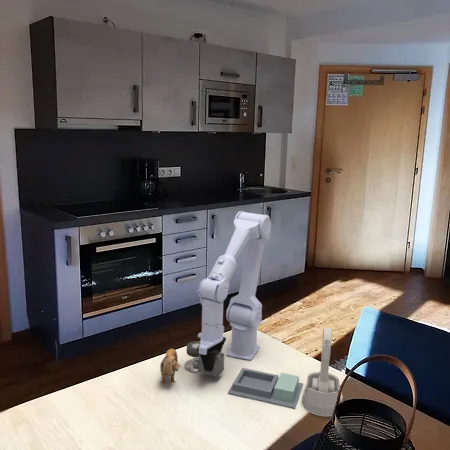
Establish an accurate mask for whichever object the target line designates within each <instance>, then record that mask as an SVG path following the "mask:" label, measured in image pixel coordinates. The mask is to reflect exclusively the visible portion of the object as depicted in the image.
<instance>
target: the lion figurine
mask: <svg viewBox="0 0 450 450" xmlns="http://www.w3.org/2000/svg"><path fill="white" fill-rule="evenodd" d="M178 361H179V360H178V353H177V351H176V349H174V348H170V349H168V350H167V351H166V353H165V356H164V357H163V359H162V361H161V362H160V374H161V379H162V380H161V382H160V384H161V385H166V381H167V379H166V377H170V379H169V381H170V383H171V384H175V383H176V380H175V373H177V372H178V371H179V369H180V368H181V364H180V363H178Z"/></svg>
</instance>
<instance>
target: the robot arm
mask: <svg viewBox="0 0 450 450" xmlns="http://www.w3.org/2000/svg"><path fill="white" fill-rule="evenodd" d="M232 223H233V227H232V228H233V233H232V236H231V238H230V240H229V243H228V245H227V248H226V249H225V251H224V253H223V255H219V257H218V258H217V260H215V263H214V265H213V267H212V269H211V271H210V273H209V274H208V276H207V277H206V278H204V279H202V280H201V281H200V282H199V285H198V290H197V295H198V297H199V303H200V305H201V308H202V309H201V332H199V333H198V334H197V338H199V339H200V341H201V342H200V345H199V346H198V347H197V352H198V353H199V355H200V357H201V359H202V362H203V366H204V370H205V371H209V372H211V371H212V370H213V365H214V359H215V356H216V354H217V352H218V350H221V351H222V349H223V347H224V345H225V343H226V341H227V338H226V337H225V336H224V332H225V326H224V325H223V324H224V301H225V300H226V299H227V297H228V294H229V288H230V281H231V279H232V277H233V275H234V273H235V270H236V269H237V267H238V264H237V262H236V261H237V260H238V259H237V258H238V257H239V256H240V254H241V252H242V250H243V249H244V248H245V246H247V247H246V252H245V258H244V262H243V268H242V273H241V274H242V275H241V278H240V279H241V280H240V285H239V291H238V294H236V295H235V296H232V297H231V298H230V301H229V304H228V307H227V309H226V312H225V313H226V314H225V317H226V320H227V322H229V326H231V339H230V340H231V343H230V344H231V346H230V348H229V350H228V351H227V352H226V356H228V357H231V358H232V357H233V358H238V359H243V360H247V361H252V360H253V358H254V356H255V355H256V353H257V352H258V350H259V348H260V345H257V341H258V340H257V335H258V327H259V326H260V325H261V323H262V319H263V318H262V317H263V314H262V313H263V312H262V311H263V310H262V309H263V304H262V303H261V302H260V301H259V300H258V298H257V297H256V293H257V287H258V283H259V278H260V277H259V276H260V270H261V266H262V261H263V254H264V250H265V249H264V248H265V244H267V243H268V242H269V240H270V235H271V230H272V221H271V218H270V216H269V215H268V214H259V213H253V212H246V211H242V210H240V211H238V212H237V213H236V215H235V217H234V220H233V222H232ZM246 244H247V245H246Z"/></svg>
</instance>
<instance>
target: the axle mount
mask: <svg viewBox="0 0 450 450" xmlns="http://www.w3.org/2000/svg"><path fill="white" fill-rule="evenodd" d="M184 369H185V370H186V371H187V372H190V373H198V374H200V373H199V357H192V359H189V360H187V361H185V364H184Z"/></svg>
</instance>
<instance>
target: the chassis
mask: <svg viewBox="0 0 450 450" xmlns="http://www.w3.org/2000/svg"><path fill="white" fill-rule="evenodd" d="M299 381H300V376H299V375H294V374H288V373H284V372H281V373H280V374H274V373H269V372H264V371H259V370H255V369H250V368H244V367H242V368H241V369H240V371H239V372H238V374H237V376H236V378H235V379H234V381H233V382H232V384H231V386H230V388H229V390H228V391H227V394H228V395H231V396H235V397H238V398H239V397H240V398H243V399H244V398H245V399H249V400H254V401H258V402H262V403H267V404H271V405H275V406H278V407H285V408H287V409H288V408H289V409H292V410H295V409H296V408H297V404H298V402H299V398H300V395H301V392H302V391H303V388H304V383H303V382H299Z"/></svg>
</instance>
